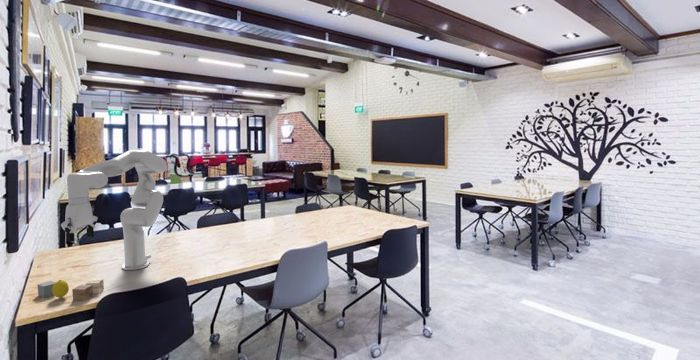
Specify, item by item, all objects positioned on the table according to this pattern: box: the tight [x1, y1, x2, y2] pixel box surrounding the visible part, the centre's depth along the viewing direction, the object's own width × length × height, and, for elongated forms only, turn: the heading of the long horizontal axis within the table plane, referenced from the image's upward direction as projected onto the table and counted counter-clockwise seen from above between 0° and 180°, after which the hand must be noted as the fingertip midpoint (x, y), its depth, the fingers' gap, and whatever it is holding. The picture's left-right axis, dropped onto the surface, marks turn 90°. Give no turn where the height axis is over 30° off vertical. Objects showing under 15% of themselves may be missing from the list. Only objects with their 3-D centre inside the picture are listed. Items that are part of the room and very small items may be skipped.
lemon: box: [52, 279, 69, 299], centre depth 158 cm, size 6×6×8 cm
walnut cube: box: [71, 284, 94, 302], centre depth 159 cm, size 5×5×5 cm
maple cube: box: [85, 278, 105, 295], centre depth 166 cm, size 5×5×5 cm
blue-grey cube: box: [37, 280, 57, 299], centre depth 162 cm, size 5×5×5 cm
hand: (80, 238), depth 167 cm, fingers open, 9 cm apart
